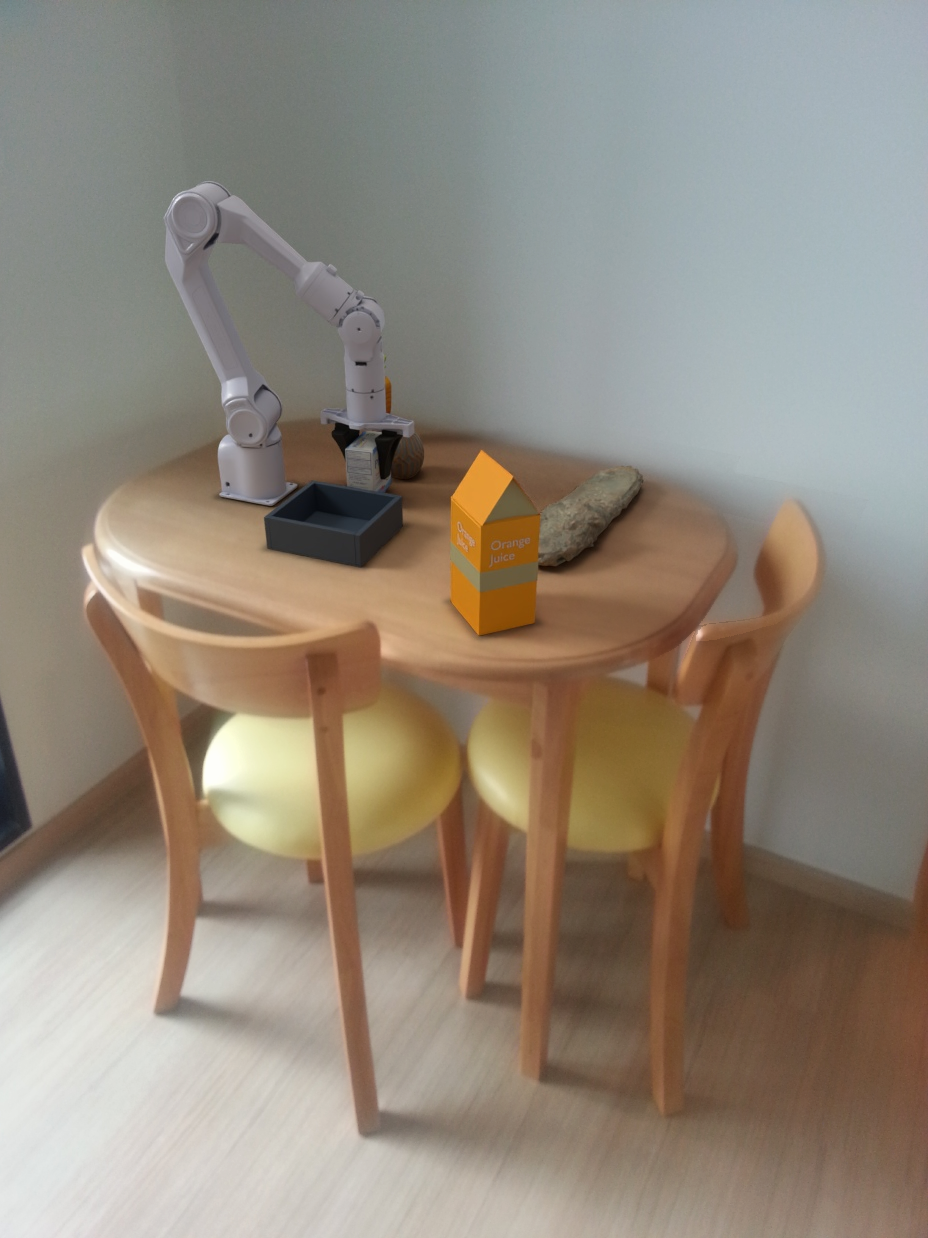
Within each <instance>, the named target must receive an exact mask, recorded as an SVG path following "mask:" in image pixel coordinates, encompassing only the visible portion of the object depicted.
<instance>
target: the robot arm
mask: <svg viewBox="0 0 928 1238" xmlns="http://www.w3.org/2000/svg"><path fill="white" fill-rule="evenodd" d="M163 221H164V225H165V230H166V231H165V232H166V233H165V249H164V250H165V254H164V262H165V265H166V268H167V270H168V273H169V276H170V277H171V280H172V281H173V283H174V286H175V288H176V290H177V292H178V295H179V297H180V299H181V301H182V302H183V305H184V307H185V310H186V312H187V313H188V316H189V318H190V320H191V322H192V324H193V326H194V329H195V331H196V333H197V335H198V337H199V339H200V341H201V344H202V346H203V347H204V350H205V352H206V354H207V357H208V359H209V361H210V363H211V365H212V367H213V369H214V372H215V374H216V376H217V378H218V381H219V382H220V385H221V406H222V408H223V410H224V413H225V427H226V430H227V433H228V434H226V435H224V436H223V437H222V439H221V441H220V442H219V444H218V448H217V463H218V471H219V477H220V479H219V480H220V485H221V491H220V492H219V497H221V498H225V499H231V500H235V501H236V500H237V501H242V502H247V503H252V504H258V505H263V506H269V507H273V506H275V505H276V504H277V503H279V502H280V501H281V500H282V499H284V498H285V497H287V496H288V495H289V494H291V493H292V492H293V491H294V490H296V489H297V488H298V484H297V483H294V482H288V481H286V480H287V479H286V469H285V468H286V467H285V457H284V448H283V438H282V432H281V430H280V429H279V426H278V422H279V420H280V419H281V418H282V415H283V403H282V400H281V398H280V397H279V395H278V394H277V393H276V391H275V390H273V389H272V388H271V387H270V386H269V384H268V382H267V381H266V378H265V376H264V375H263V374H261V372H259V371H258V370H256V368H254V365H253V363H252V361H251V359H250V357H249V354H248V352H247V349H246V346H245V345H244V342H243V341H242V338H241V336H240V334H239V331H238V329H237V326H236V325H235V323H234V319H233V318H232V316H231V314H230V311H229V308H228V306H227V304H226V302H225V300H224V297H223V295H222V293H221V290H220V289H219V286H218V284H217V282H216V280H215V277H214V275H213V272H212V271H211V268H210V266H209V263H208V262H209V260H210V257H211V255H212V252H213V249H214V247H215V245H216V242H217V243H219V244H232V245H233V244H234V245H244V246H245V247H246V248H248V249H249V250H251V252H253V253H254V254H256V255H257V256H259V257H260V258H261V259H263V260H264V261H265V262H267V263H268V264H269V265H270V266H272V267H273V268H274V269H276V270H277V271H278V272H280V273H281V274H282V275H283V276H285V277H286V278H288V279H289V280H291V281H292V283H293V287H294V292H295V296H296V297H297V298H298V299H300V300H301V301H302V302H303V303H305V305H307V306H308V307H309V308H310V309H312V310H313V311H314V312H315V313H316V314H317V315H319V316H320V317H321V318H323V319H324V320H325V321H326V322H328V323H329V324H330V325H332V326H333V327H335V328H337V333H338V336H339V338H340V340H341V341H342V343H343V346H344V349H343V350H344V355H343V365H344V383H345V384H344V385H345V400H346V401H345V402H346V408H330V407H326V408H324V409H322V410H320V411H319V412H320V413H319V417H320V425H325V426H327V425H329V424H330V425H334V427H333V430H331V432H330V433H331V438H332V439H333V440H334V442H335V443H336V445H337V446H338V448H339V450H340V452H341V454H342V456H343V459H344V462H345V463H346V455H345V449H346V448H347V447H348V446H349V445H350V444H351V443H352V442H353V441H354V440H355V439H356V438H357V437H358V436H359V435H360V434H361V433H360V432H361V430H367V431H372V430H375V431H381V432H382V434H380V435H379V436H377V437H376V438H375V443H376V446H377V450H378V456H379V472H380V479H383V480H385V479H386V478H387V477H389V476H390V472H391V466H392V462H393V458H394V455H395V452H396V449H397V447H398V445H399V442H400V440H401V438H402V437H408V438H409V437H410V436H412V435H413V434H414V433H415V432H416V431H415V420H411V419H408V418H407V419H406V418H403V417H400V416H398V415H393V414H391V413H390V414H388V413H386V398H385V376H386V370H385V369H386V368H385V367H384V366H385V363H384V355H385V354H384V343H383V336H381V335H382V332H383V330H384V328H385V325H386V314H385V312H384V308H383V307H382V306H381V305H380V304H379V303H378V301H377V299H375V298H374V297H372V296H366V295H365V293H364V292H363V291H362V290H361V289H358V290H356V289H355V288H353V287H352V286H351V285H349V284H348V282H346V281H345V280H344V279H342V278H341V276H339V275H338V274H337V272H338V269H337V267H335V266H334V265H333V264H332V263H329V265H326V264H325V263H323V261H307V260H306V259H305V258H304V257H303V256H302V255H301V254H300V253H298V251H297V250H296V249H294V248H293V247H292V246H291V245H290V244H289V243H288V242H287V241H286V240H285V239H284V238H282V237H281V235H279V234H278V233H277V232H276V231H275V230H274V229H273V228H272V227H270V225H268V224H267V223H266V222H265V221H264V220H263V219H262V218H261V217H259V216H258V215H257V214H256V213H255V212H254V211H253V210H252V209H251V208H250V207H249V206H248V204H247V203H245V201H244V200H243V199H242V198H240V197H238V196H237V195H235V194H233V195H232V194H231V192H230V191H229V190H228V189H227V187H226V186H225V185H222V184H221V183H219V182H216V181H212V180H207V181H206V180H205V181H202V182H200V183H198V184H197V185H196V186H194V187H192V188H190V189H187V190H182V191H180V192H178V193H177V194H176V195H175V196H174V197H173V199H172V200H171V202H170V204H169V205H168V208H167V210H166V212H165V214H164V216H163Z"/></svg>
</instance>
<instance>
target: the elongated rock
mask: <svg viewBox="0 0 928 1238" xmlns="http://www.w3.org/2000/svg"><path fill="white" fill-rule="evenodd" d="M643 483H644V475H643V474H642V473H640V470H638V468H635V467H632V466H631V465H627V466H624V465H616V466H613V467H610V468H603V469H601V470H599V471H597V472H596V473H594V474H593V476H592V477H590V478H588V479H587V480H585V481H584V482H582V483H581V484H580V485H578V486H577V487H576V488H575V489H574V490H573V491H572V492H570V493H569V494H567V495H566V496H565V497H562V498H561V499H559V500H558V501H556V502H553V503H550V504H548V505H546V507H545V508H543V510H541V513H540V515H541V517H540V535H539V552H538V566H543V567H546V566H552V567H557V566H559V565H561V564H563V563H564V562H566V561H567V562H570V561H572V560H573V558H575V557H578V555H579V554H580V553H582V552H583V551H584V550H585V549H587V548H593V547H595V545H594V542H595V541H597V540H598V536H599V535H600V534H601V533H602V532H604V531H605V530H606V529H607V528H608V526H609V525H610V524H611V522H612V521H613V519H615V518H617V517H618V516H619V515H621V513H622V510H623V509H627V508H628V506H629V504H631V502H632V500H633V499H634V498H635V497H636V496H637V495H638V494H639V491H640V490H641V486H642V484H643Z"/></svg>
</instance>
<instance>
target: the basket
mask: <svg viewBox="0 0 928 1238" xmlns="http://www.w3.org/2000/svg"><path fill="white" fill-rule="evenodd" d="M403 511H404V510H403V496H402V495H398V494H393V493H387V492H384V493H382V492H377V491H371V490H365V489H359V488H354V487H348V486H347V485H342V484H337V483H330V482H324V481H319V480H311V481H309V482H308V483H307V484H306V485H304V486H303V487H301V488H300V489H299V490H297V491H296V492H295V493H293V494H292V495H291V496H290V497H288V498H286V500H284V501H283V502H282V503H281V504H279V505H278V506H276V507H275V508H274V509H272V510H271V511H270V512H268V513H267V514H266V515H264V516H263V520H264V521H263V523H264V533H265V541H266V549H269V550H274V551H279V552H283V553H288V554H292V555H298V556H303V557H307V558H314V559H317V560H323V561H327V562H332V563H338V564H342V565H348V566H352V567H356V568H363V567H364V565H366V563H368V562H369V561H370V560H371V558H373V557H374V556H375V554H377V552H379V550H381V549H382V548H383V547H384V546H385V545H386V544H387V543H388V542H389V541H390V540H391V539H392V538H393V537H394V536H395V535H396V534H397V533H398V532H399V531H400V530H401V529H402V528H403V527H404V522H403V521H404V520H403V519H404V517H403V514H404V512H403Z"/></svg>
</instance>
